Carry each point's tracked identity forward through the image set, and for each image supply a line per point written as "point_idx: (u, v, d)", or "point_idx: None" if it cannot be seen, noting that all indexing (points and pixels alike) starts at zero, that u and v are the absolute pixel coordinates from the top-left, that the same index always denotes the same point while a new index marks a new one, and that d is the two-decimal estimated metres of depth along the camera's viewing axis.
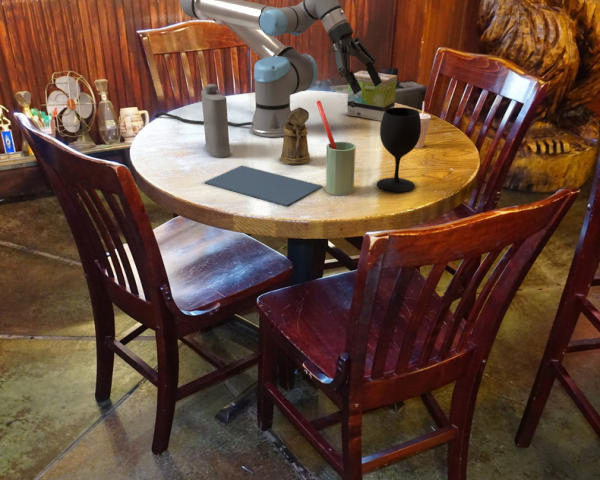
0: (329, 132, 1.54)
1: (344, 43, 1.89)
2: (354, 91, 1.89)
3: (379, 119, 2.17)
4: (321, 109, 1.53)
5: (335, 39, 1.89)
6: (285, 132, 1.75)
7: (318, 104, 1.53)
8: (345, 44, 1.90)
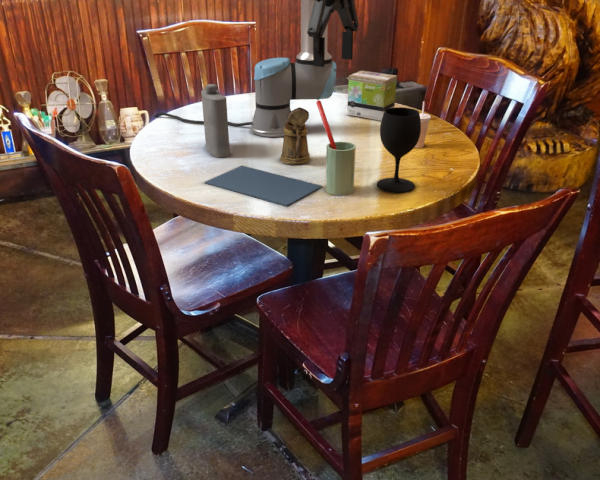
0: (329, 132, 1.54)
1: None
2: (315, 62, 1.44)
3: (379, 119, 2.17)
4: (321, 109, 1.53)
5: None
6: (285, 132, 1.75)
7: (318, 104, 1.53)
8: None
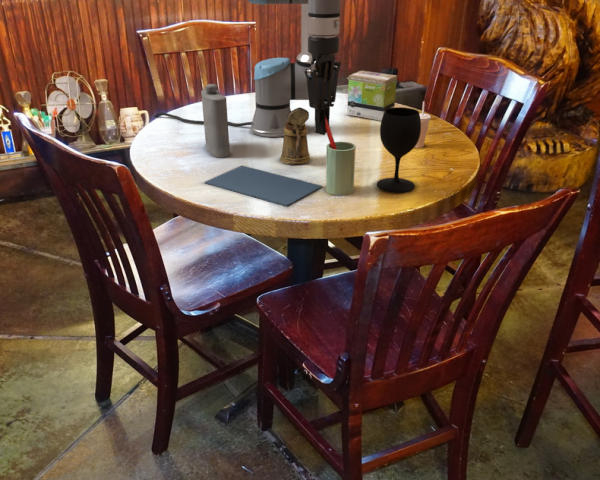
0: (329, 132, 1.54)
1: (320, 62, 1.44)
2: (316, 130, 1.55)
3: (379, 119, 2.17)
4: None
5: (313, 52, 1.43)
6: (285, 132, 1.75)
7: None
8: (321, 62, 1.45)
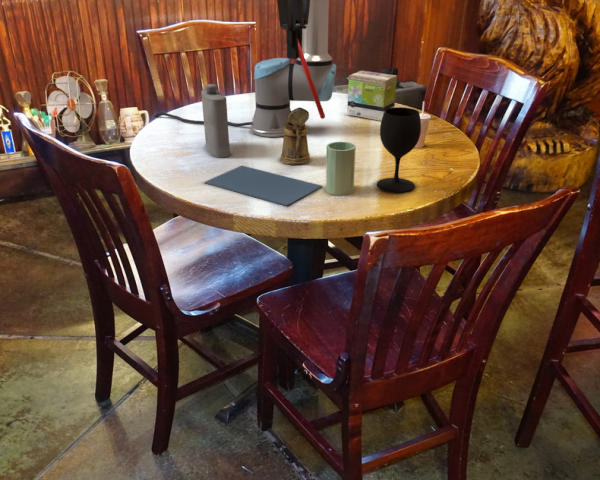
0: (302, 56, 1.47)
1: None
2: (288, 54, 1.48)
3: (379, 119, 2.17)
4: None
5: None
6: (285, 132, 1.75)
7: None
8: None
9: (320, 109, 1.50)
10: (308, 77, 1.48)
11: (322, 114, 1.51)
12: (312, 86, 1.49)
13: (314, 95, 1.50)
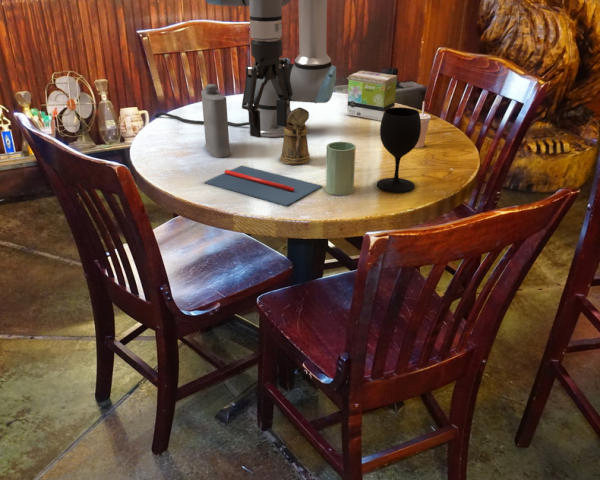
0: (247, 176, 1.65)
1: (263, 66, 1.44)
2: (251, 132, 1.50)
3: (379, 119, 2.17)
4: (230, 172, 1.68)
5: (255, 55, 1.42)
6: (285, 132, 1.75)
7: (226, 172, 1.69)
8: (264, 67, 1.44)
9: (285, 187, 1.59)
10: (261, 181, 1.63)
11: (290, 188, 1.58)
12: (268, 182, 1.62)
13: (274, 185, 1.61)
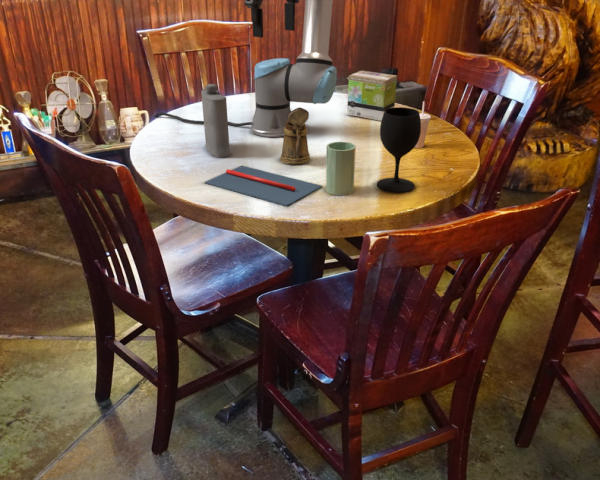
0: (249, 175, 1.66)
1: None
2: (254, 33, 1.50)
3: (379, 119, 2.17)
4: (232, 170, 1.69)
5: None
6: (285, 132, 1.75)
7: (228, 170, 1.69)
8: None
9: (288, 185, 1.59)
10: (263, 179, 1.63)
11: (292, 186, 1.59)
12: None
13: (276, 183, 1.61)
